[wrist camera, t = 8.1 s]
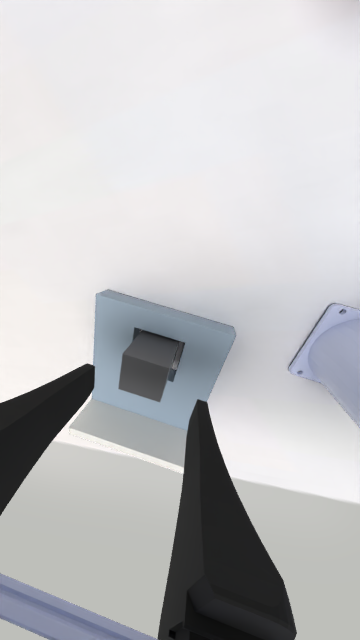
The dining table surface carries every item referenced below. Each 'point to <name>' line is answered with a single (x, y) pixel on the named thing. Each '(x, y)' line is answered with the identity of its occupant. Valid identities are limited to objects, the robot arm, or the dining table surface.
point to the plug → (147, 365)
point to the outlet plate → (180, 391)
